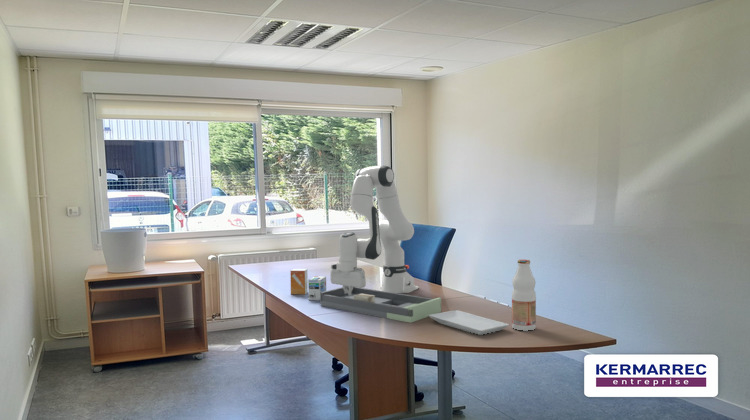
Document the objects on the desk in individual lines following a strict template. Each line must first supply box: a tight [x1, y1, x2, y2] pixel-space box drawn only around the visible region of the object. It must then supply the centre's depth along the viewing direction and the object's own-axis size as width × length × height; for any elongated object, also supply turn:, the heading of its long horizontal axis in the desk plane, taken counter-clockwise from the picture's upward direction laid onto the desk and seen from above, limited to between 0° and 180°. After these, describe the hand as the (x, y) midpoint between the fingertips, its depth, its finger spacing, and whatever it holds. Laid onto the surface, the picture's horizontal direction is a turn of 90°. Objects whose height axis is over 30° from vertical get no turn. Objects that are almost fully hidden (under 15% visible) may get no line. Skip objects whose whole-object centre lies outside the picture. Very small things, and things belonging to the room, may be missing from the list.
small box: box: [290, 268, 309, 296], centre depth 302 cm, size 8×6×13 cm
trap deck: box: [320, 286, 442, 323], centre depth 265 cm, size 24×54×6 cm, turn 51°
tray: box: [428, 309, 510, 336], centre depth 232 cm, size 17×31×4 cm, turn 35°
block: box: [354, 294, 375, 303], centre depth 264 cm, size 6×8×4 cm
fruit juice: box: [511, 259, 537, 332], centre depth 227 cm, size 9×9×28 cm
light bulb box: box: [308, 275, 327, 302], centre depth 289 cm, size 11×7×11 cm, turn 168°
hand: (347, 294), depth 270 cm, fingers closed
